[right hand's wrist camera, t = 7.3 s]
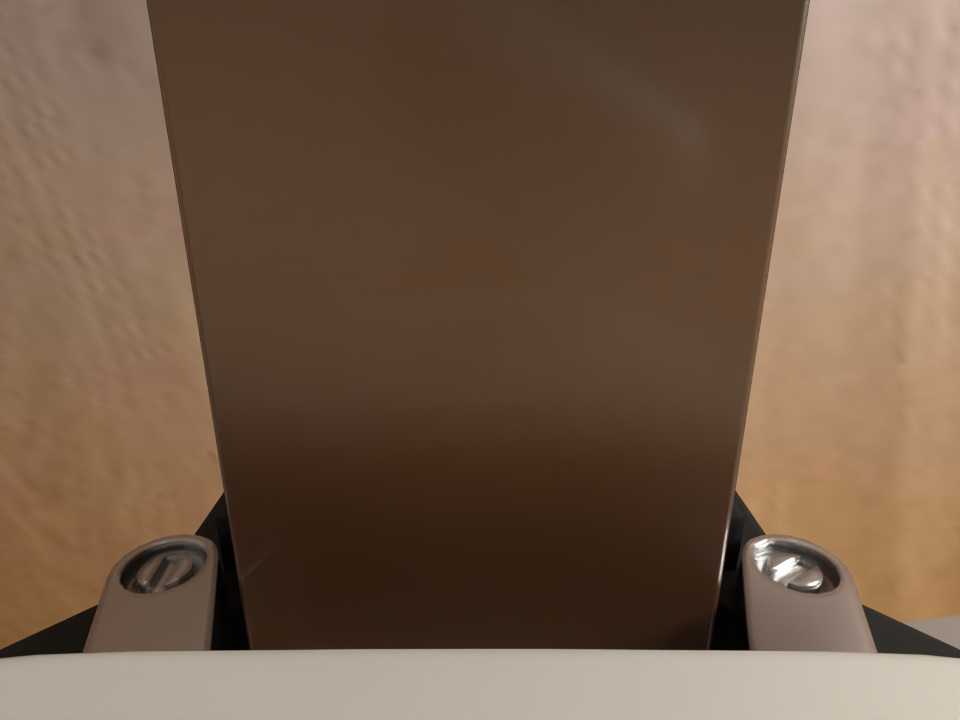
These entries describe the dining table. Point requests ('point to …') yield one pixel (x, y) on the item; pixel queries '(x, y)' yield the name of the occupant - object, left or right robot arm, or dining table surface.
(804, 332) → the dining table surface
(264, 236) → the beam
